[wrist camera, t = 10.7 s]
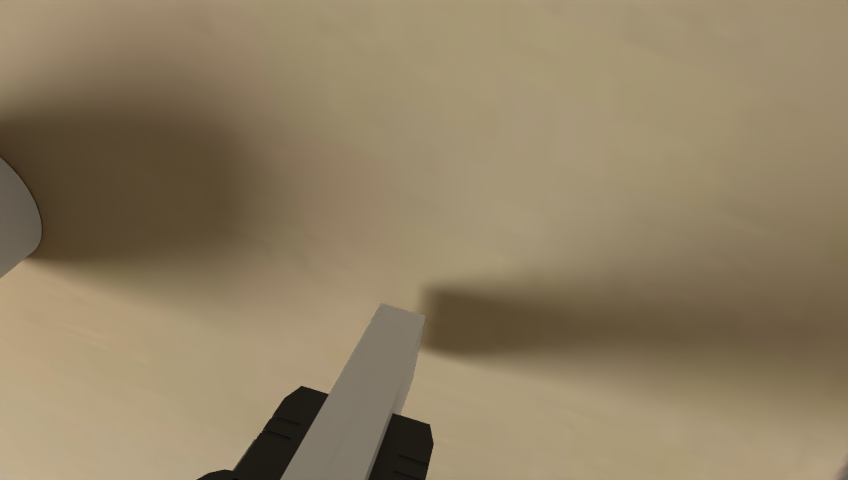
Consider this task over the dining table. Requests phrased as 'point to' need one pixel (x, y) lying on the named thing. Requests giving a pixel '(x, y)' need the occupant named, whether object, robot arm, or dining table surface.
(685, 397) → the dining table surface
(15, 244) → the cup
